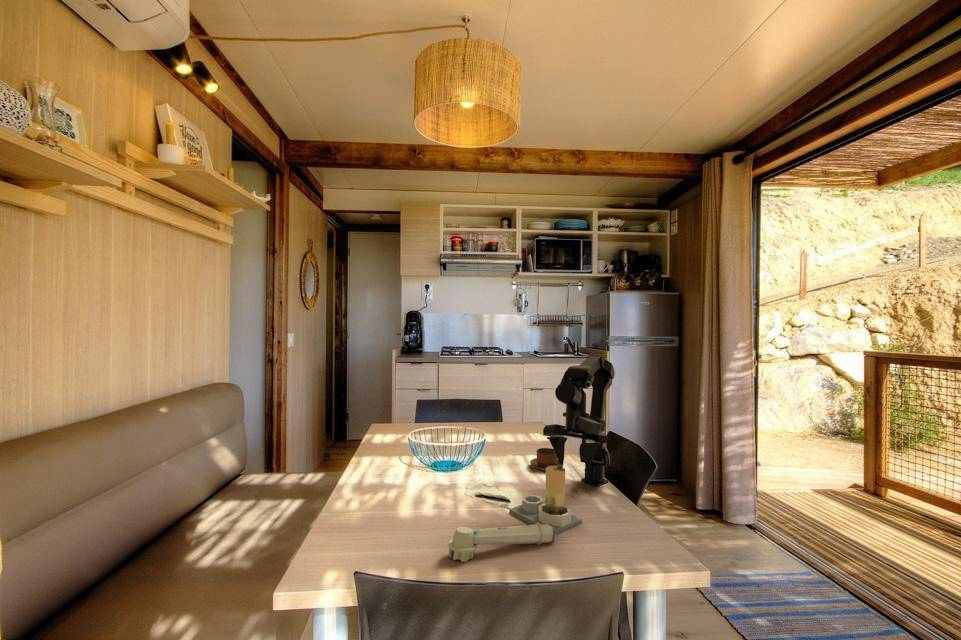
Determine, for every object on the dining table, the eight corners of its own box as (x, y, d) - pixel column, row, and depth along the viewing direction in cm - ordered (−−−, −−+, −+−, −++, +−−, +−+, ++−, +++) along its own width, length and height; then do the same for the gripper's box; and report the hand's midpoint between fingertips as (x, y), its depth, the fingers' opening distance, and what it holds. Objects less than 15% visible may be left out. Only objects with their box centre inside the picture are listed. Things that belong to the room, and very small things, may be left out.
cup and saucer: (568, 466, 157) (568, 449, 157) (555, 476, 147) (556, 458, 147) (538, 460, 163) (538, 444, 163) (524, 469, 153) (524, 452, 153)
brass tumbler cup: (554, 512, 115) (554, 464, 115) (568, 519, 111) (569, 469, 111) (541, 517, 112) (541, 468, 112) (555, 524, 108) (556, 473, 108)
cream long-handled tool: (557, 529, 100) (455, 530, 92) (554, 558, 100) (450, 563, 91) (546, 519, 105) (448, 520, 97) (543, 547, 105) (444, 550, 96)
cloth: (457, 481, 143) (457, 474, 143) (496, 478, 146) (496, 471, 146) (472, 515, 117) (472, 506, 117) (520, 510, 120) (520, 502, 120)
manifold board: (537, 502, 124) (537, 490, 124) (581, 523, 112) (581, 509, 112) (509, 512, 117) (509, 499, 117) (553, 535, 105) (553, 521, 105)
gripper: (568, 401, 113) (566, 463, 107) (620, 412, 120) (621, 470, 115) (543, 405, 122) (540, 462, 117) (593, 415, 130) (593, 469, 124)
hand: (574, 466), depth 118 cm, fingers open, 9 cm apart
